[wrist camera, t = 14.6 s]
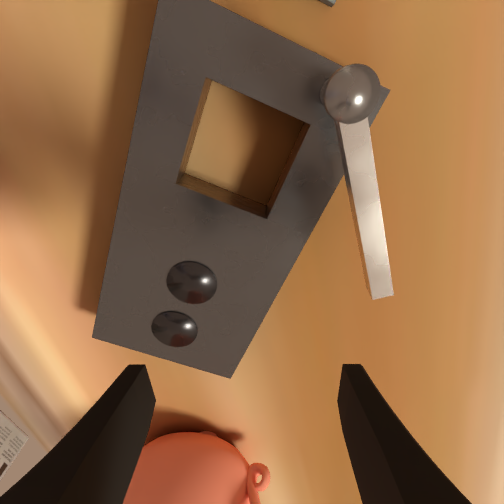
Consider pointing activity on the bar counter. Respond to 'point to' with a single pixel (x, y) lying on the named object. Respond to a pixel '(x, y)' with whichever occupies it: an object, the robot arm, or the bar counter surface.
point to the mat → (328, 2)
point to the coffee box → (9, 442)
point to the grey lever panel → (212, 192)
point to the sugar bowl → (194, 472)
